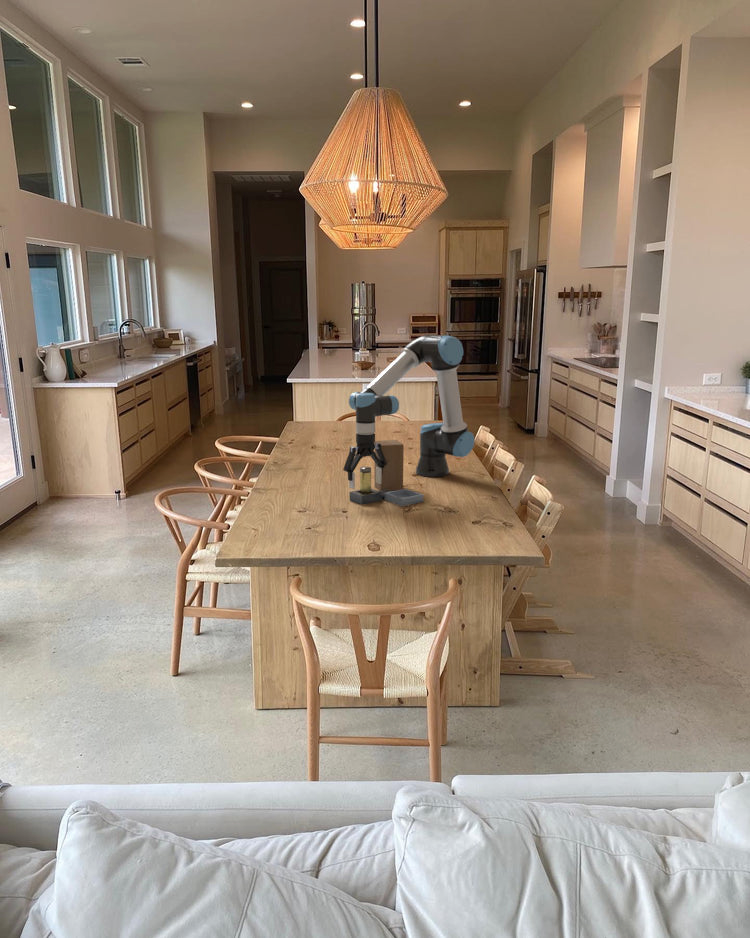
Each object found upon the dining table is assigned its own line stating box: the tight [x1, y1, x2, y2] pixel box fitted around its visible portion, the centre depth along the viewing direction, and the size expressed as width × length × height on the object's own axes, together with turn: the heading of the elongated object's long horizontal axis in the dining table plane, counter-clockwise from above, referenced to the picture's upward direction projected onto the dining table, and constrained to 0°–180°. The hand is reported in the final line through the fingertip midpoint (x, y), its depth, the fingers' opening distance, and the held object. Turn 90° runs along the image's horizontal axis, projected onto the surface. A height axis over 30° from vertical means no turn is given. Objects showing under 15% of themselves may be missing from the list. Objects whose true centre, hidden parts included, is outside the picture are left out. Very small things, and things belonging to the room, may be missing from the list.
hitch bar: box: [349, 488, 392, 506], centre depth 296 cm, size 18×8×4 cm, turn 128°
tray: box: [384, 488, 424, 507], centre depth 293 cm, size 11×11×3 cm
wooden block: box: [373, 439, 405, 491], centre depth 310 cm, size 10×10×20 cm
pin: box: [359, 466, 372, 495], centre depth 292 cm, size 4×4×14 cm
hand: (365, 485), depth 292 cm, fingers open, 12 cm apart
